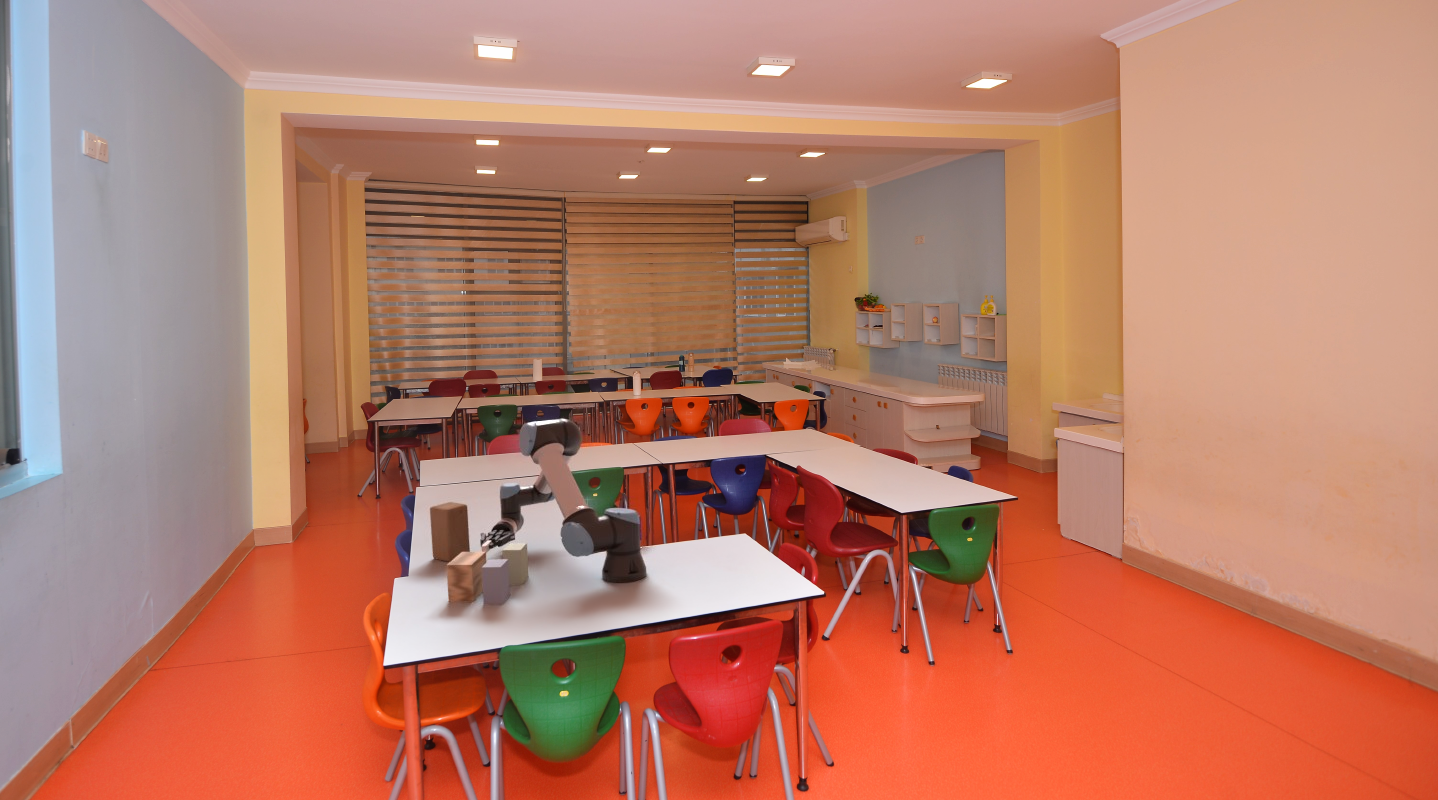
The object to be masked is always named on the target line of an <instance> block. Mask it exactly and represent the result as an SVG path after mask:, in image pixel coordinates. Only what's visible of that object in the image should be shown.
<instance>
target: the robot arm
mask: <svg viewBox="0 0 1438 800" xmlns="http://www.w3.org/2000/svg"><path fill="white" fill-rule="evenodd" d="M518 435H519V436H518V444H519V450H520V452H521V454H522V455H523V456H524V457H529V456H530V458H531V460H532V462H533V463H534V464H535V465H539V467H540V469H541V470H540V473H539V475H538V477H537V478H536V481H535V482H534V484H531V485H525V486H520V483H518V482H506V483H503V484H502V485H500V488H499V501H500V520H499V521H498V522H497V523H496V524H495V525H493V526H492V528H491V530H490V531H489V532H488V533H484V532H481V533H480V548H481V552H486V554H487V553H488V552H489V551H491V550H492V549H494V548H496V547H498V548H501V547H503V546H504V545H508V544H509V543H510V542H512V541H516V534H517V532H519V531H520V530H521V529H522V527H523V525H524V522H525V518H524V516H523V514H522V507H526V506H531V505H538V504H542V503H544V504H546V503H548V502H552V501H554V500H555V501H556V503H557V506H558V508H559V509H560V512H561V514H562V516H563V518H564V519H563V521H562V524H561V525H562V526H561V528H560V537H561V543H562V546H563V547H564V549H565V550H566V552H567V553H568V554H569V555H571V556H573V557H576V558H577V557H578V558H579V557H580V558H581V557H588V556H590V555H594V554H598V553H602V552H606V555H605V559H604V562H603V566H602V570H601V575H602V576H601V577H602V579H603V580H605V581H607V582H612V583H631V582H636V581H640V580H641V579H644V578H645V577H646V576H647V565H646V564H645V561H644V559H643V558H644V557H643V556H642V552H641V541H640V529H641V528H640V519H639V516H640V514H639V512H638V511H636V510H634V509H631V508H626V507H625V508H623V507H612V508H611V507H610V508H606V509H605V510H604V512H603V513H604V515H599V516H598V515H597V514H598V513H596V511H595V509H594V508H592V507H590V506H588V505H587V502H586V500H585V498H584V496H583V493H582V492H581V489H580V487H579V485H578V484H577V482H576V480H575V477H574V475H573V474H572V471H571V469H570V467H569V462H570V461H571V459H572V457H573V456H574V457H575V455H577V454H578V453H579V451H580V448H581V446H582V444H583V435H582V431H581V429H580V428H579V426H578V425H577V424H576V423H575V422H574V421H572V420H571V419H567V418H554V419H547V420H540V421H539V420H538V421H536V420H534V421H531V422H525V423H524V424H523V425H522V426H521V428H520V431H519V434H518Z"/></svg>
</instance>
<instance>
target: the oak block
mask: <svg viewBox="0 0 1438 800" xmlns="http://www.w3.org/2000/svg"><path fill="white" fill-rule="evenodd" d="M487 562H488V561H487V553H486V552H482V551H470V552H461V553H460V554H459V555H458V556H457V557H455V558H454V559H453V560H452V561H451V562H448V563H447V564H446V579H447V595H448V597H447V598H448V603H453V602H455V603H457V602H458V603H462V602H464V603H466V602H467V603H469V602H474V601H476V600H477V598H479V596H480V595H482V594H483V585H482V566H483V565H484V564H486V563H487Z"/></svg>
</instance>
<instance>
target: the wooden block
mask: <svg viewBox="0 0 1438 800" xmlns="http://www.w3.org/2000/svg"><path fill="white" fill-rule="evenodd" d="M467 505H468V504H465V503H459V502H454V501H453V502H452V501H450V502H446V503H441V504H437V505H433V506H431V507H430V509H429V515H430V531H431V532H430V533H431V545H432V546H431V550H432V557H433V559H435V560H439V561H444V562H448V563H450V562H451V561H452V560H453V559H454V558H455V557H457V556H458V555H459V554H460V553H461V552H471V549H470V548H471V547H470V533H469V531H470V530H469V513H468V506H467Z"/></svg>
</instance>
